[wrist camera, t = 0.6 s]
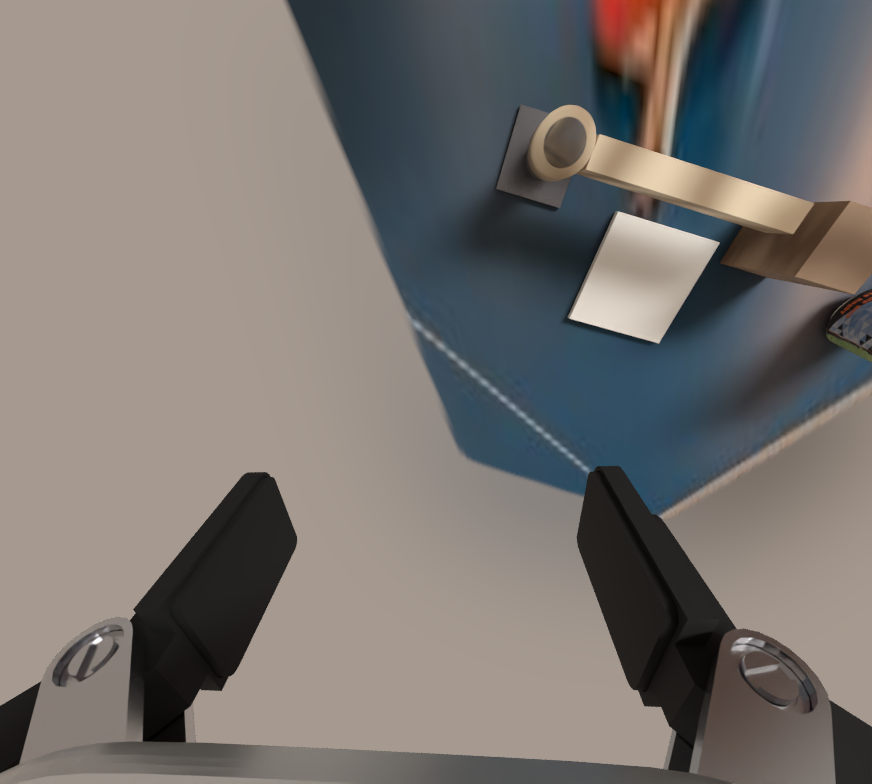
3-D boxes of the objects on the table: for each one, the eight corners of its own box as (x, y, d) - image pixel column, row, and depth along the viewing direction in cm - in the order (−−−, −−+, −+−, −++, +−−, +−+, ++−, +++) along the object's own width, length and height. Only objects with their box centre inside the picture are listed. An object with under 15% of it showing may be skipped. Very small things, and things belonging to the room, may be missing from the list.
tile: (615, 211, 30) (618, 211, 30) (715, 242, 31) (720, 242, 30) (567, 316, 35) (569, 318, 34) (655, 341, 36) (658, 343, 35)
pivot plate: (520, 105, 27) (521, 104, 27) (589, 127, 28) (590, 126, 27) (495, 189, 30) (496, 188, 30) (558, 208, 30) (559, 208, 30)
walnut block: (755, 204, 29) (850, 200, 22) (806, 220, 30) (914, 222, 23) (719, 263, 32) (794, 276, 25) (766, 277, 32) (854, 294, 25)
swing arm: (511, 178, 29) (525, 169, 23) (529, 121, 27) (548, 96, 21) (720, 242, 30) (782, 248, 25) (751, 193, 28) (825, 187, 23)
